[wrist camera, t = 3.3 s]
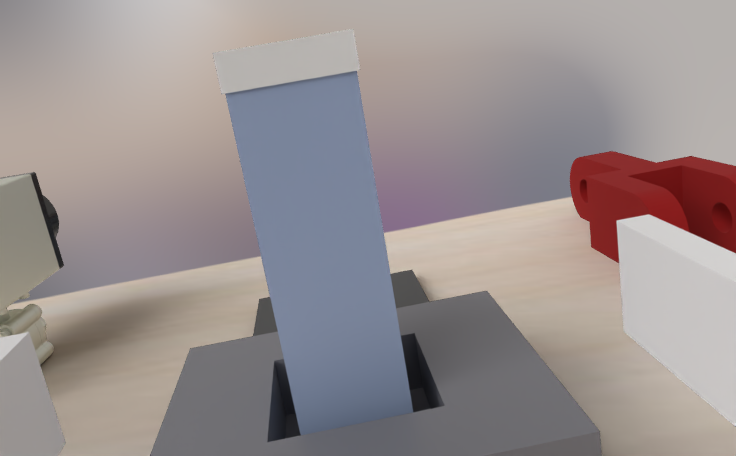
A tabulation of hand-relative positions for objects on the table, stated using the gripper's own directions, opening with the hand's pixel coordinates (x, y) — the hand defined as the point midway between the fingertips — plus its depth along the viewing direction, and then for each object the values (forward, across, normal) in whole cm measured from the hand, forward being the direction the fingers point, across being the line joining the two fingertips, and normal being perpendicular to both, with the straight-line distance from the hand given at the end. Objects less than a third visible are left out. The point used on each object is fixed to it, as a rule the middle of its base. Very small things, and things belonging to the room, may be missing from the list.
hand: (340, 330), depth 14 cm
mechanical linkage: (+26, +20, -9) cm, 34 cm away
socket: (+9, 0, -9) cm, 13 cm away
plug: (+9, 0, -8) cm, 12 cm away
